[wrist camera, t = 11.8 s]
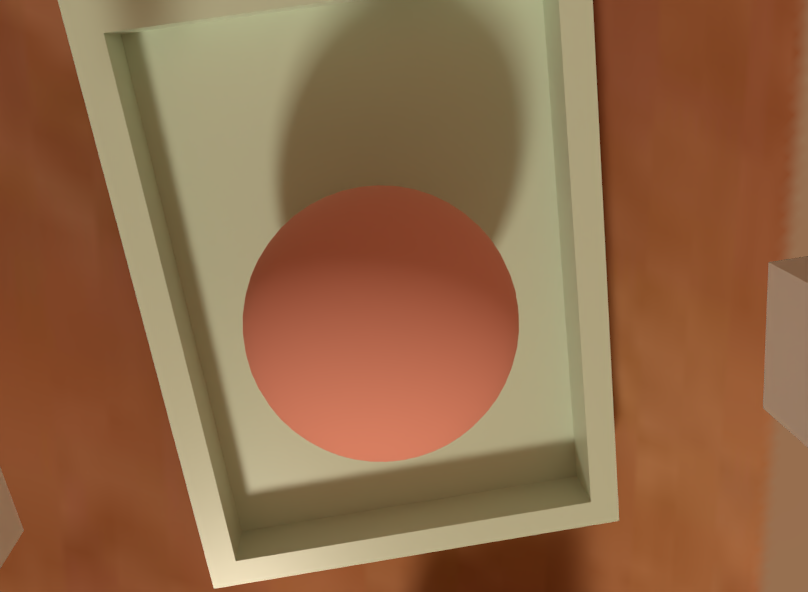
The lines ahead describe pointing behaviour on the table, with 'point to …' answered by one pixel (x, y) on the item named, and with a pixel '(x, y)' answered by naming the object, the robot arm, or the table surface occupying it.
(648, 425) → the table surface
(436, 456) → the tray
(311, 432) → the ball
